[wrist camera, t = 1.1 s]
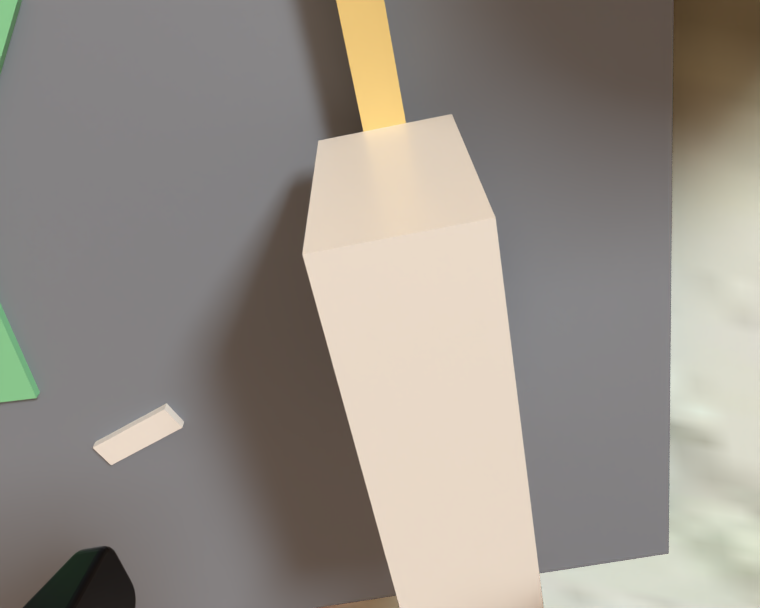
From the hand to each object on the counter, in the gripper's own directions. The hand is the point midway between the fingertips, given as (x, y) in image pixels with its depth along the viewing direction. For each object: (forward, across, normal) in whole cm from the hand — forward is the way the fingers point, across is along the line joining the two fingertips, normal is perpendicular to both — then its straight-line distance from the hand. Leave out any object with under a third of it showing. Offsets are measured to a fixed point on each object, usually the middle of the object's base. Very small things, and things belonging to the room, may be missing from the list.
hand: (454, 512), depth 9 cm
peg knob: (+6, 0, -3) cm, 6 cm away
